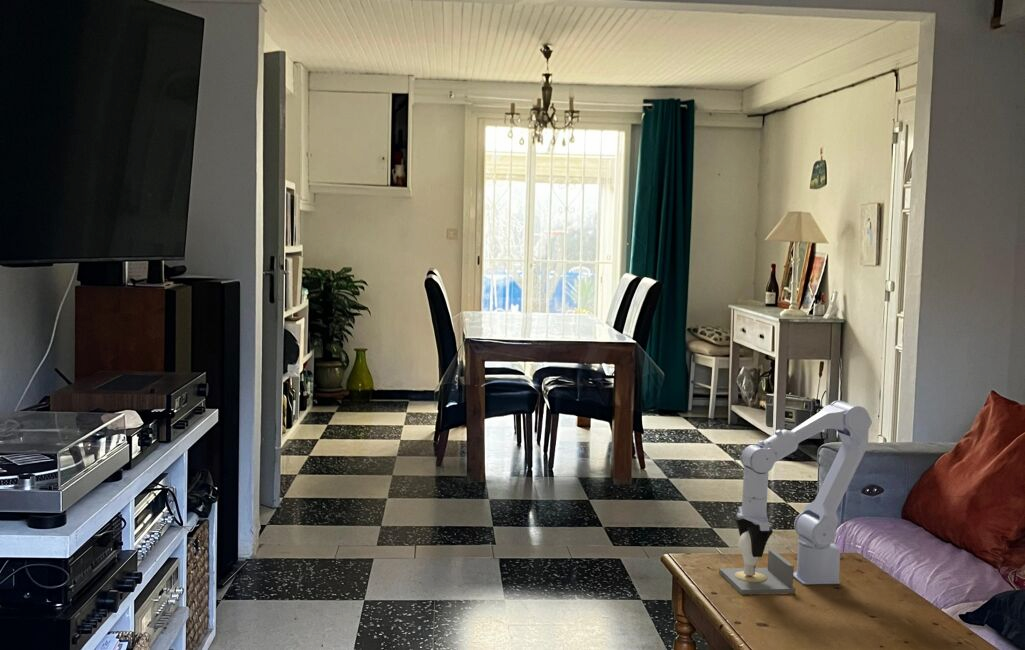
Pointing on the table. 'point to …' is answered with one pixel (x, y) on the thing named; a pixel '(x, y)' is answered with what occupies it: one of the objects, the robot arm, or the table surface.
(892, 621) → the table surface
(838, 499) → the robot arm
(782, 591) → the lamp base
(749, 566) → the lightbulb
